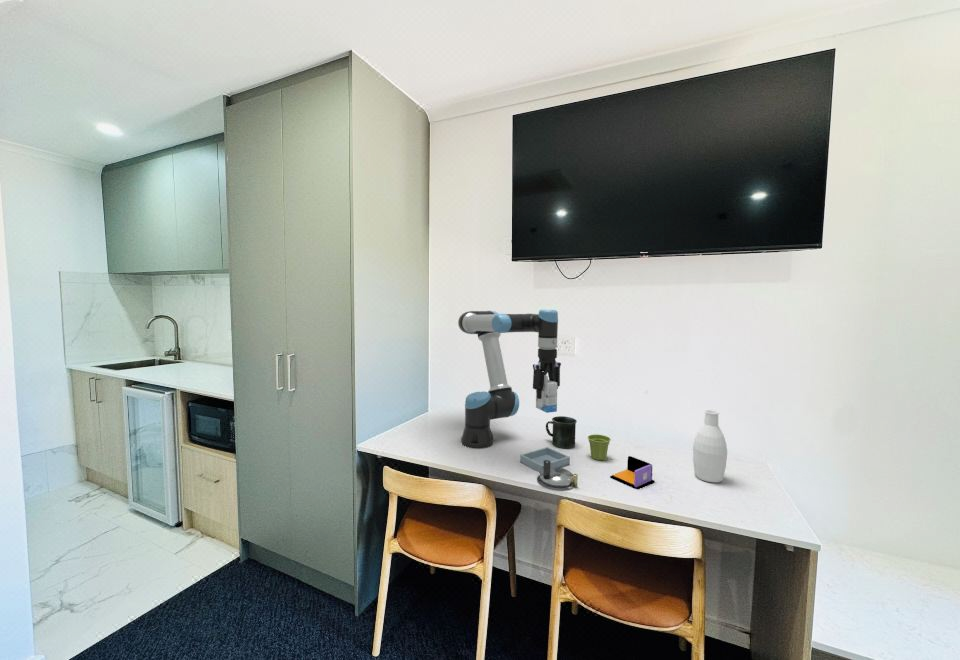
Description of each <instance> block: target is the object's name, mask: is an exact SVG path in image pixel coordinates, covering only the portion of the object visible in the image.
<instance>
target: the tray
mask: <svg viewBox="0 0 960 660" xmlns="http://www.w3.org/2000/svg"><path fill="white" fill-rule="evenodd" d="M544 460H549V461H550V462H551V463H550V467H558V468H563V467H567V466H570V463H571V461H570V460H571V457H570V456H569V455H567V454H564V453H561V452H560V451H557V450H555V449H553V448H550V447H549V446H547V447H543V448H540V449H536V450H532V451H529V452H526V453H523V454H519V462H520V463H521V464H523V465H524V466H527V467H528V468H530V469H532V470H534V471H535V472H538V473H539V474H540V471H541V470H542V469H544Z"/></svg>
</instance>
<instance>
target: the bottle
mask: <svg viewBox="0 0 960 660" xmlns="http://www.w3.org/2000/svg"><path fill="white" fill-rule="evenodd" d="M719 414H720V413H719V412H718V411H716V410H710V409H709V410H705V411H704V420H703V424H702V425H701V427H700V428H699V429H698V430H697V432H696V435H695V437H694V440H693V445H692V462H693V471H694V475H695V477H697V478H698V479H699V480H701V481H705V482H707V483H714V484H716V483H721V482H722V481H723V479H724V476H725V472H726V467H727V460H728V448H727V442H726V438H725V436H724V433H723V431H722V430H721V427H720V426H719Z"/></svg>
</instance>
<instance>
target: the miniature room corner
mask: <svg viewBox="0 0 960 660" xmlns="http://www.w3.org/2000/svg"><path fill="white" fill-rule="evenodd" d="M626 464H627V467H626V469H625V470H622V471H620V472H617V473H614V474H612V475H610V476H609V478H610V479H612V480H614V481H616V482H618V483H621V484H623V485H625V486H627V487H630V488H631V489H634V490H641V489H644V488H646V487H648V486H651V485H653V484H655V483H656V481H655V480H654V479H653V464H651V463H649V462H647V461H645V460H642V459H639V458H636V457H633V456H631V455H629V456H627V463H626ZM650 484H651V485H650ZM645 486H646V487H645ZM643 487H644V488H643ZM640 488H641V489H640Z"/></svg>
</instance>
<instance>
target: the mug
mask: <svg viewBox="0 0 960 660" xmlns="http://www.w3.org/2000/svg"><path fill="white" fill-rule="evenodd" d="M577 422H578V421H577V419H575V418H573V417H570V416H563V415H562V416H561V415H560V416H559V415H558V416H553V417H552V418H551V420H550V421H547V422H546V423H545V430H546V433H547V435H549V436H550V437H552V443H551V444H552V445H553V446H554V447H556V448H559V449H566V450H567V449H572V448H574V447H575V446H576V424H577ZM549 424H550V425H552V432H550V428H549Z"/></svg>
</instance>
